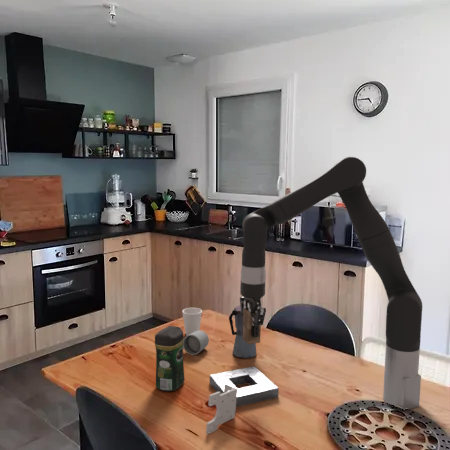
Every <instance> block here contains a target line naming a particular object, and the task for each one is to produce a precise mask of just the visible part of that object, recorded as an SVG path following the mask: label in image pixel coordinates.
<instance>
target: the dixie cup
mask: <svg viewBox="0 0 450 450" xmlns="http://www.w3.org/2000/svg"><path fill="white" fill-rule="evenodd" d="M181 312H182V317H183V318H182V319H183V323H184V324H183V327H184V331H185V335H186V336H187V335H189V334H191V333H193V332H195V331H198V330H200V329H201V321H202V313H203V310H202V309H201V308H199V307H187V308H184V309H182V311H181Z"/></svg>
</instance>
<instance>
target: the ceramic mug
mask: <svg viewBox="0 0 450 450" xmlns="http://www.w3.org/2000/svg"><path fill="white" fill-rule="evenodd" d="M209 342H210V338H209V335H208V334H207V332H205V330H198V331H195V332H193V333H191V334H189V335H186V336H184V339H183V351H185V352H186V353H187V354H189V355H190V354H191V355H190V356H196V355H198V354H199V353H200V352H202V351H203V350H205V348H206V347H207V346H208V345H209Z"/></svg>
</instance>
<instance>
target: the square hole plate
mask: <svg viewBox="0 0 450 450" xmlns="http://www.w3.org/2000/svg"><path fill="white" fill-rule="evenodd" d="M225 384H226V385H228V386H231V387H233V388H236V389H237V398H236V408H238V407H243V406H247V405H251V404H255V403H261V402H265V401H268V400H272V399H278V398H279V390H280V389H279V387H278V386H277V385H276V383H274V382H273V381H272V380H270V378H268V377H267V376H266V375H265V374H264V373H262V372H261V371H260V370H259V369H258V368H257V367H256V366H248V367H244V368H239V369H238V368H237V369H233V370H228V371H223V372H218V373H213V374H209V385H210V386H211V387H212V388H213V390H214V391H215V393H216V392H218V391H219V392H220V394H222V393H224V388H225ZM246 384H248V385H247V386H242V387H240V388H239V387H237V386H241V385H246ZM228 391H230V390H228Z"/></svg>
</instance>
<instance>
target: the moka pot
mask: <svg viewBox="0 0 450 450" xmlns="http://www.w3.org/2000/svg"><path fill="white" fill-rule="evenodd" d="M233 316H234V322H233ZM228 322H229V325H230V331H231V334H232V336H235V338H234V344H233V349H232V354H233V355H234V356H235V357H238V358H243V359H248V358H249V359H251V358H254V357H255V356H257V343H254V344H247V343H246V342H245V341H244V340H243V316H242V315H241V306H240V305H237V306H235V307H234V309H232V312H231V313H230V315H229V317H228ZM234 324H235V325H234ZM234 327H235V329H234Z"/></svg>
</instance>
